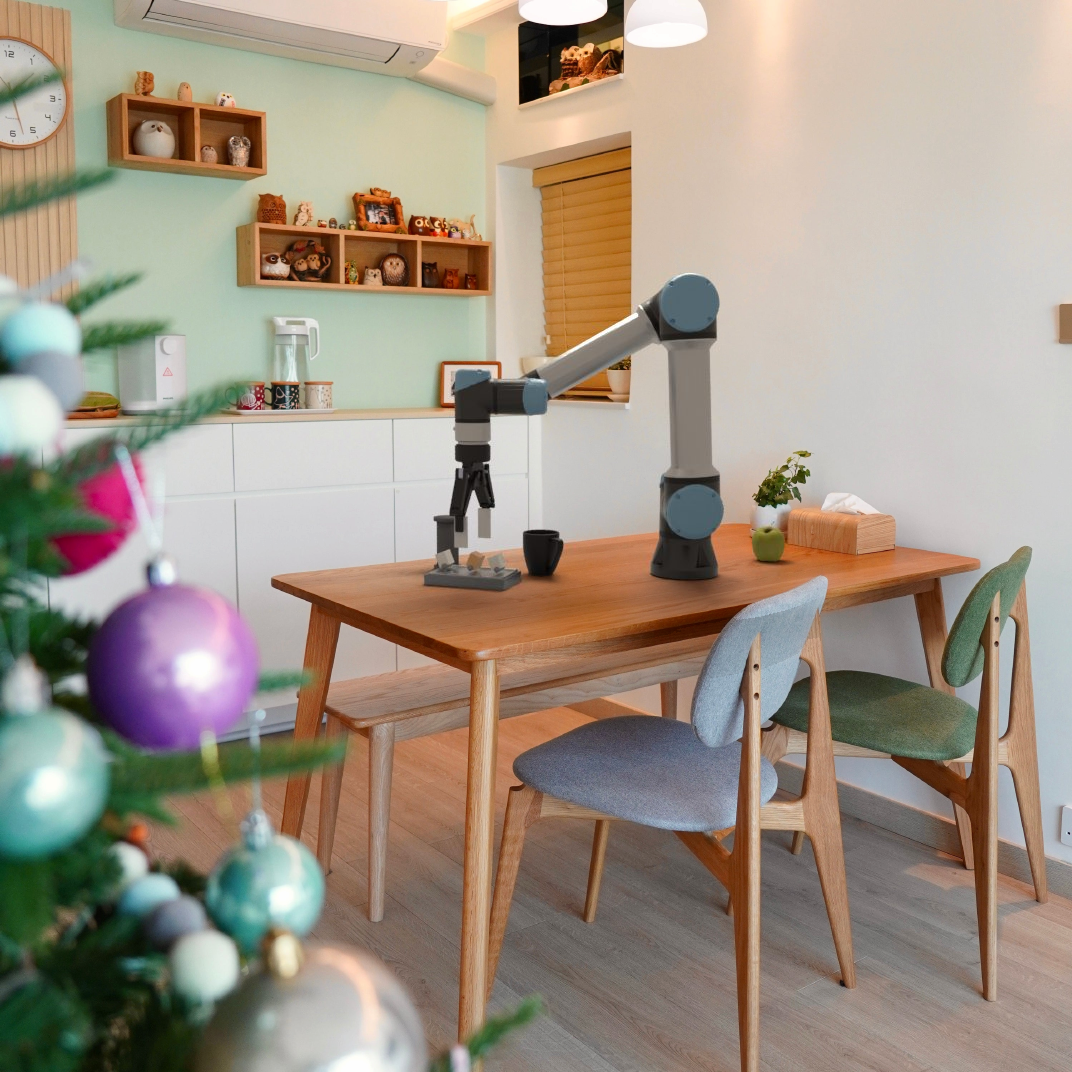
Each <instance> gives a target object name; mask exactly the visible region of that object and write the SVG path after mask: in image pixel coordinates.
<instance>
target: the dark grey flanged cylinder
mask: <svg viewBox="0 0 1072 1072" xmlns="http://www.w3.org/2000/svg"><path fill="white" fill-rule="evenodd" d="M433 521H434V522H436V554H438V553H441V552H443V551H446V550H449V549H450V551H451V554H452V557H453V559H454V563H453V564H454V565H462V564H461V563H460V557H459V556H460V553H459V552H460V549H459V548H457V547H454V516H450V515H449V514H440V515H439V514H438V515H434V516H433ZM438 568H440V567H439V565H438V562H437V561H436V564H433V569H434V570H436V569H438Z"/></svg>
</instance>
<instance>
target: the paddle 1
mask: <svg viewBox="0 0 1072 1072" xmlns="http://www.w3.org/2000/svg"><path fill="white" fill-rule="evenodd" d="M434 556H435V559H436V563H437V562H438V565H439V567H440V568H441V567H442V569H446V568H448V567H451V566H452V565H453V563H454V559H453V557H452V554H451V551H450V549H449V550H446V551H443V552H441V553H438V554H437V553H436V554H435V555H434Z"/></svg>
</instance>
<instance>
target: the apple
mask: <svg viewBox="0 0 1072 1072" xmlns="http://www.w3.org/2000/svg"><path fill="white" fill-rule="evenodd" d="M774 523H775V521H773V522H772V523H771V525H766V526H761V527H759V528H757V529H756V530H755V531H754V532H753V534H752V538H751V546H752V551H753V553H754V556H755V558H756V559H757V560H759V561H761V562H777V561H779V560H780V559H781V558H782V556H783V555H784V551H785V547H786V539H785V538H786V537H785V536H784V533H783V532H782V531H781V530H780V529H779V528H778V527H775V526H773V524H774Z"/></svg>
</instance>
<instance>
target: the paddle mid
mask: <svg viewBox="0 0 1072 1072" xmlns="http://www.w3.org/2000/svg"><path fill="white" fill-rule="evenodd" d="M485 557H486V555H485V554H483V553H482V552H479V551H476V550H475V551H472V552H470V553H469V556H468V559H467V561H466V564H465V565H466V566H468V567H467V569H468V570H469V571H472V570H477V569H479V568H481V566H482V565H483V563H484V560H485Z"/></svg>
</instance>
